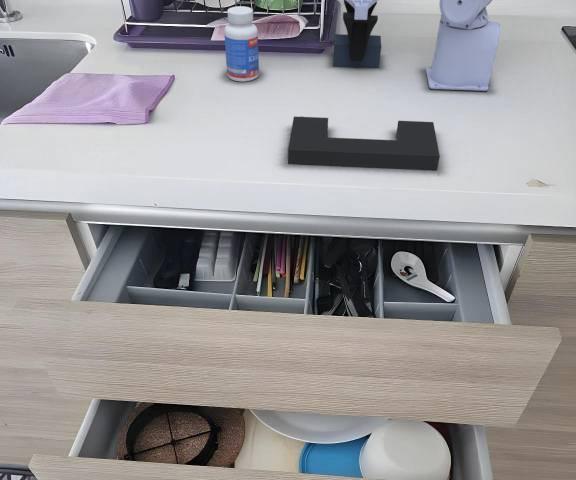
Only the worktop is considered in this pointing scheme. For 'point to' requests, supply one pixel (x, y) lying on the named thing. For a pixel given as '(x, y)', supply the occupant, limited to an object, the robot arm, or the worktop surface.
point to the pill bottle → (241, 45)
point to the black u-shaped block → (364, 146)
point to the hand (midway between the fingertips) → (356, 53)
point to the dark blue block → (343, 57)
